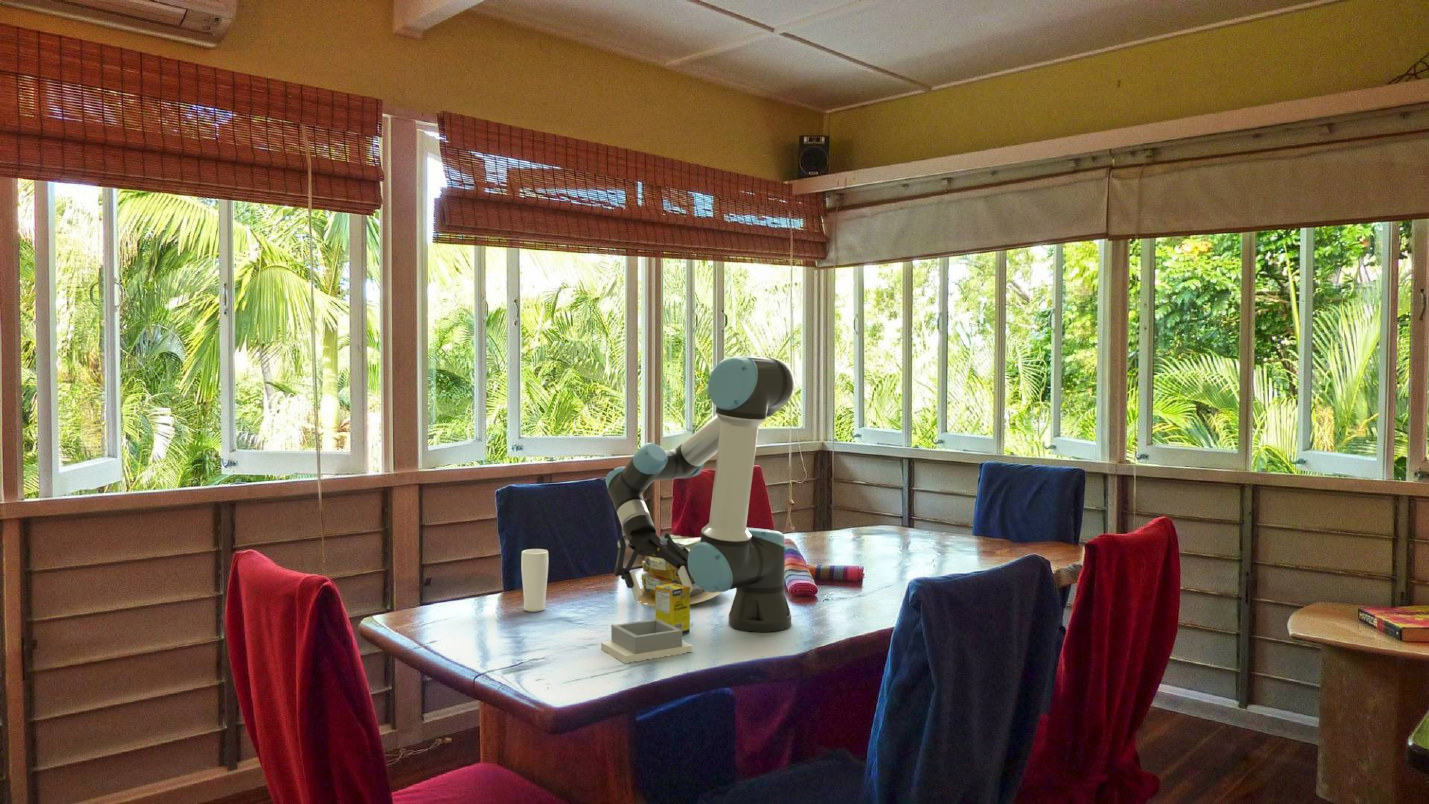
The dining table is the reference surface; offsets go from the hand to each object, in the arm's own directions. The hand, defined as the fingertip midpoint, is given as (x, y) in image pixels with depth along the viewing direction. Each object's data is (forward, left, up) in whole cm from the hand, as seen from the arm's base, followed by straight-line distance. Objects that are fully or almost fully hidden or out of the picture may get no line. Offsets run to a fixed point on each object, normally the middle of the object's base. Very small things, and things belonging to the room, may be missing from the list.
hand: (665, 595), depth 224 cm
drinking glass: (+20, -33, -8) cm, 39 cm away
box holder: (+12, +13, -8) cm, 19 cm away
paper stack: (-19, -27, -9) cm, 34 cm away
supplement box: (0, +3, -8) cm, 9 cm away
